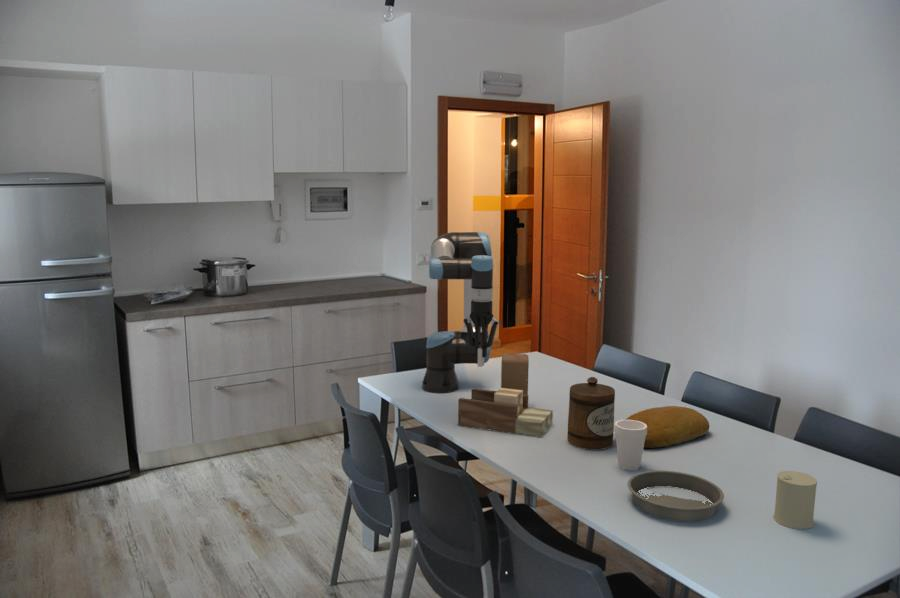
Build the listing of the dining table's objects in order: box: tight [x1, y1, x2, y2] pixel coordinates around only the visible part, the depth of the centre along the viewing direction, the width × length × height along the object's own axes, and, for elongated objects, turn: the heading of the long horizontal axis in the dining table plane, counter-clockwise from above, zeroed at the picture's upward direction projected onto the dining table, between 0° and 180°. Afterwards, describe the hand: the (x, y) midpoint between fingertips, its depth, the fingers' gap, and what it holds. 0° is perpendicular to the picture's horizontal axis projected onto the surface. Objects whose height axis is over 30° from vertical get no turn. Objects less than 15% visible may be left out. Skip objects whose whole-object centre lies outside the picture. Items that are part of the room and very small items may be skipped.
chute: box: [457, 387, 554, 438], centre depth 252 cm, size 15×30×10 cm, turn 68°
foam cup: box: [614, 419, 647, 471], centre depth 216 cm, size 10×9×13 cm
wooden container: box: [566, 376, 616, 450], centre depth 235 cm, size 15×15×22 cm
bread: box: [624, 405, 710, 449], centre depth 242 cm, size 18×35×10 cm, turn 120°
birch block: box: [494, 387, 523, 414], centre depth 251 cm, size 8×8×7 cm
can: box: [772, 470, 818, 530], centre depth 181 cm, size 9×9×12 cm
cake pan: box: [627, 470, 725, 522], centre depth 192 cm, size 25×25×4 cm
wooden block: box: [500, 353, 530, 396], centre depth 271 cm, size 10×10×20 cm
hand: (480, 365), depth 253 cm, fingers closed
